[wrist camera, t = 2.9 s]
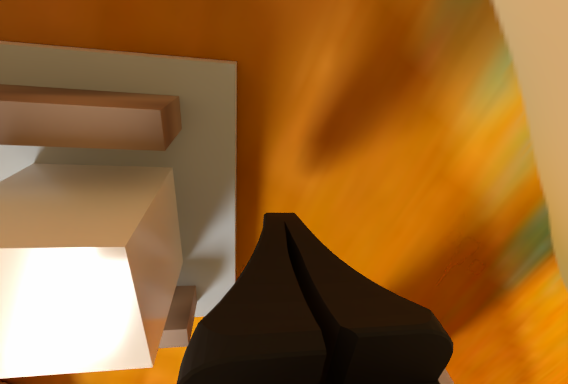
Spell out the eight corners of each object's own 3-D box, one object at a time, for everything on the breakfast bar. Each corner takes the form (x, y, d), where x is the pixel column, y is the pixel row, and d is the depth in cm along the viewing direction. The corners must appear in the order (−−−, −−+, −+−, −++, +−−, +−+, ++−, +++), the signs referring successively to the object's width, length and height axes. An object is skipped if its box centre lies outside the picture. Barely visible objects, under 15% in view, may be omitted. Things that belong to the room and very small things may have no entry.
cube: (172, 167, 11) (124, 247, 7) (183, 261, 13) (152, 367, 9) (33, 163, 10) (-123, 249, 6) (69, 264, 13) (-24, 380, 8)
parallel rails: (179, 96, 10) (160, 110, 8) (197, 301, 15) (188, 346, 13) (-164, 73, 8) (-310, 82, 6) (-17, 310, 13) (-70, 363, 11)
